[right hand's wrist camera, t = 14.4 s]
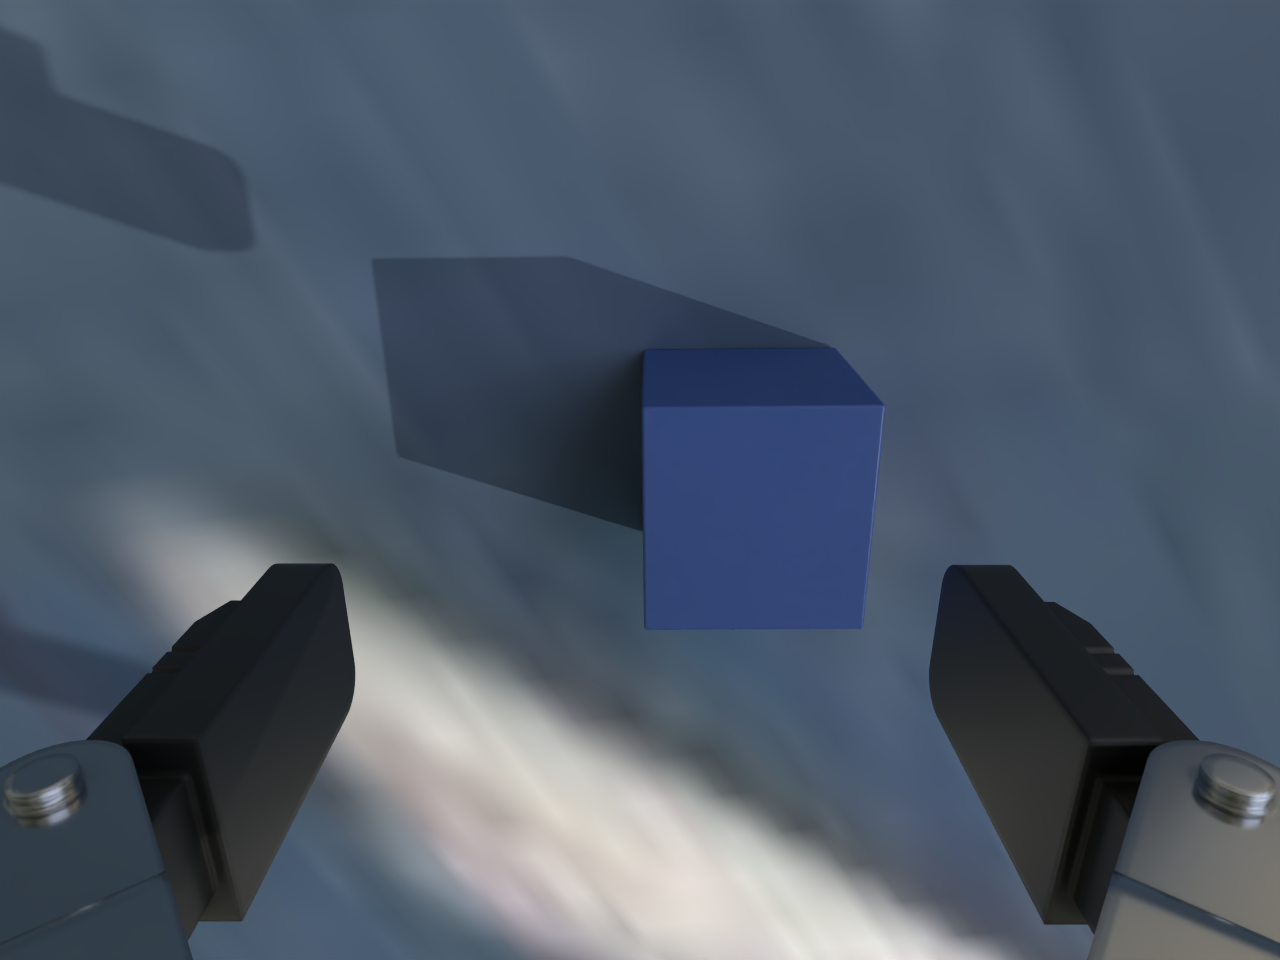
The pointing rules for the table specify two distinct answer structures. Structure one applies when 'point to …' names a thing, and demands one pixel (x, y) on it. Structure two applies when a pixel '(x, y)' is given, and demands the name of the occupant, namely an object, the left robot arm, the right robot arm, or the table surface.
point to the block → (757, 488)
